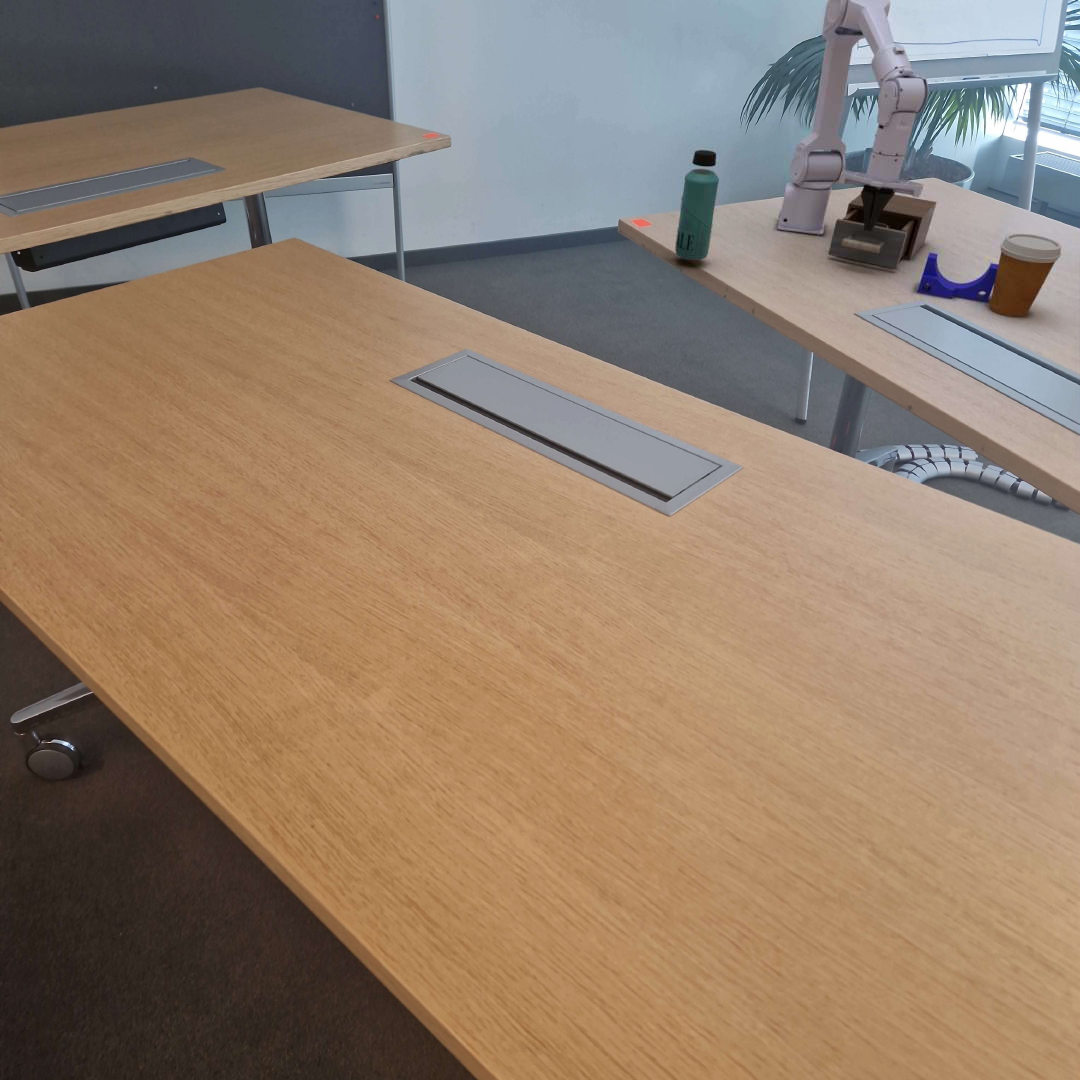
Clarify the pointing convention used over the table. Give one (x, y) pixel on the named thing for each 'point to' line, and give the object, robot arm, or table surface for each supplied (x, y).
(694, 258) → the beverage bottle
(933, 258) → the blue cradle bracket
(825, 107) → the robot arm
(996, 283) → the disposable coffee cup
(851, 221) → the drawer
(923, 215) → the cabinet
